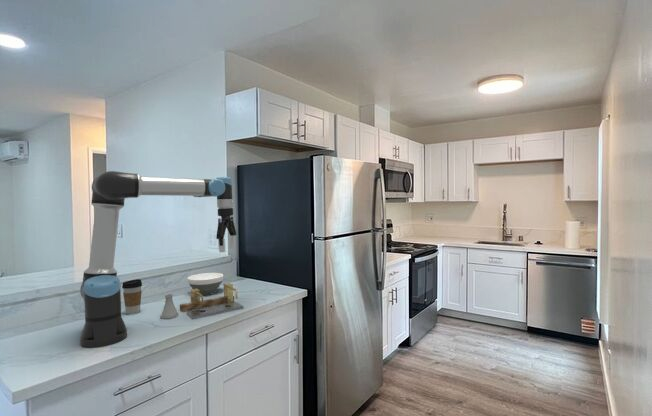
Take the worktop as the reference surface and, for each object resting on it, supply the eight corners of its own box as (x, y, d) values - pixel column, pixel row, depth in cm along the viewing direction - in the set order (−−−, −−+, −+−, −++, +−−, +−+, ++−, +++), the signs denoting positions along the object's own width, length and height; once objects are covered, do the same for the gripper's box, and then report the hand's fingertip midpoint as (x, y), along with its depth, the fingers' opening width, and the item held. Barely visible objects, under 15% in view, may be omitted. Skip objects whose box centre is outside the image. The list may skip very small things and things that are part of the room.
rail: (187, 317, 159) (186, 297, 158) (179, 310, 170) (178, 291, 170) (242, 306, 174) (241, 287, 174) (231, 300, 185) (230, 283, 185)
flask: (171, 319, 156) (170, 297, 156) (157, 319, 157) (156, 296, 157) (181, 314, 163) (180, 293, 163) (167, 314, 164) (166, 292, 164)
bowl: (210, 287, 216) (209, 271, 216) (231, 291, 205) (230, 274, 205) (180, 294, 201) (180, 277, 200) (201, 299, 189) (201, 281, 189)
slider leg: (234, 306, 172) (233, 288, 171) (223, 300, 183) (223, 283, 183) (240, 305, 173) (239, 287, 173) (229, 299, 185) (229, 282, 184)
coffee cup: (145, 311, 169) (144, 280, 168) (126, 316, 162) (125, 283, 162) (139, 308, 174) (138, 278, 174) (120, 312, 168) (119, 281, 168)
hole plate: (192, 319, 156) (192, 316, 156) (186, 314, 163) (186, 311, 163) (243, 308, 170) (243, 305, 170) (236, 304, 177) (236, 301, 177)
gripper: (222, 208, 165) (225, 253, 166) (240, 206, 190) (243, 246, 190) (207, 209, 166) (210, 254, 166) (227, 207, 190) (229, 246, 191)
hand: (227, 250), depth 178 cm, fingers open, 13 cm apart
